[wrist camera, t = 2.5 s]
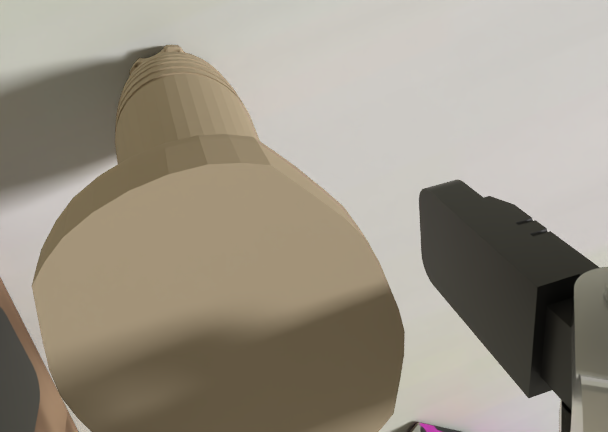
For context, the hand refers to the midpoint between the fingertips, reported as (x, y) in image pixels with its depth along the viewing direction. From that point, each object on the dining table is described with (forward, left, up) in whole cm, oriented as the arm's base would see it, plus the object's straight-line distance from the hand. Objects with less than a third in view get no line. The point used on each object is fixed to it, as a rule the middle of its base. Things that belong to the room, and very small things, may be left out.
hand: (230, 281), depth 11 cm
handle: (0, 0, -13) cm, 13 cm away
